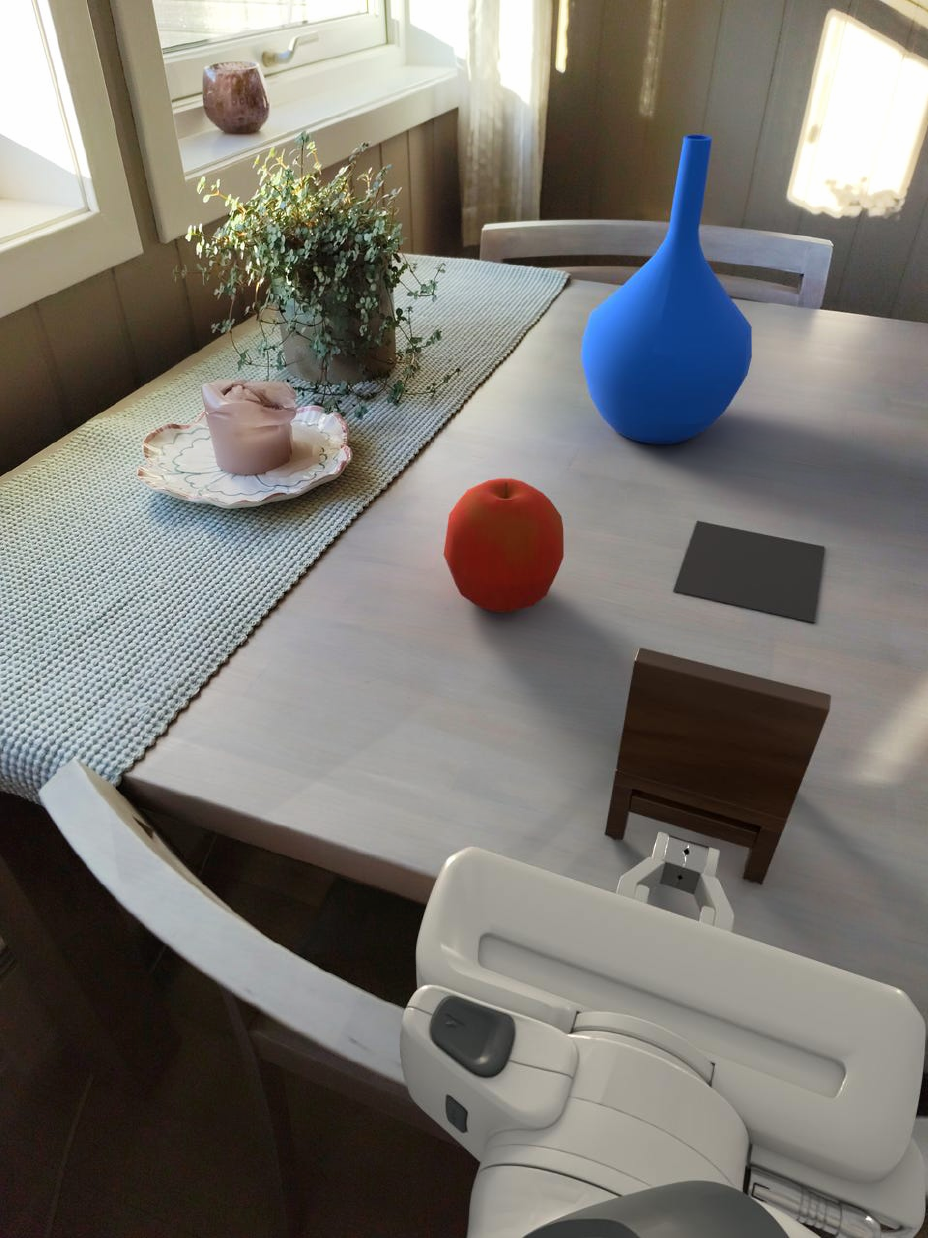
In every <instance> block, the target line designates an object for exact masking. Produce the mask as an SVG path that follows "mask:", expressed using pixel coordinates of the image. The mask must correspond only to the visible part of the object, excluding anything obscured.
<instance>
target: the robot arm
mask: <svg viewBox="0 0 928 1238" xmlns="http://www.w3.org/2000/svg"><path fill="white" fill-rule="evenodd" d="M720 854H721V850H720V849H717V848H714V847H710V846H708V845H704V844H701V843H698V842H694V841H691V840H686V839H683V838H680V837H678V836H677V837H676V836H675V835H672V834H669V833H665V832H662V831H658V833H657V836H656V840H655V844H654V847H653V851H652V854H651V856H648V857H646V858H645V859H643V860H642V861H640V862H639V863H638V864H637V865H635V866H634V867H632V868H631V869H630V870H628V871H627V872H625V873H624V874H622V875H621V876H620V877H619V881H618V883H617V888H616V891H615V892H612V891H609V890H606V889H604V888H600V887H597V886H596V885H595V886H594V885H591V884H588V883H586V882H582V881H580V880H577V879H574V878H570V877H567V876H564V875H561V874H559V873H556V872H552V871H549V870H547V869H544V868H541V867H538V866H535V865H531V864H528V863H526V862H523V861H520V860H516V859H514V858H511V857H508V856H506V855H501V854H499V853H496V852H493V851H490V850H487V849H485V848H482V847H479V846H475V845H474V846H473V845H472V846H467V847H465V848H462V849H461V850H458V851H456V852H455V853H453V854H451V855H449V856H448V857H446V859H445V860H444V863H443V865H442V867H441V869H440V871H439V874H438V876H437V878H436V880H435V883H434V884H433V888H432V890H431V892H430V896H429V899H428V901H427V904H426V908H425V910H424V914H423V918H422V920H421V923H420V927H419V931H418V936H417V940H416V947H415V948H416V949H415V965H416V966H415V970H416V971H415V972H416V976H415V977H416V991H414V993H413V994H412V996H411V997H410V999H409V1001H408V1003H407V1005H406V1007H405V1010H404V1012H403V1015H402V1020H401V1023H400V1032H399V1056H400V1064H401V1070H402V1074H403V1078H404V1082H405V1085H406V1088H407V1091H408V1094H409V1096H410V1097H411V1099H412V1100H413V1102H414V1103H415V1104H416V1105H417V1106H418V1107H419V1108H420V1109H421V1110H422V1112H424V1113H425V1114H426V1115H428V1116H429V1118H430V1119H432V1120H433V1121H434V1122H435V1123H436V1124H438V1125H439V1126H440V1127H441V1129H443V1130H444V1131H445V1132H447V1133H448V1134H449V1135H450V1136H451V1137H452V1138H453V1139H454V1140H455V1141H457V1143H459V1144H460V1145H461V1146H462V1147H463V1148H465V1149H466V1150H467V1152H468V1153H470V1155H472V1156H473V1158H475V1159H476V1160H477V1161H478V1162H479V1167H478V1170H477V1172H476V1175H475V1178H474V1182H473V1185H472V1188H471V1193H470V1201H469V1209H468V1210H469V1211H468V1224H467V1234H466V1238H822V1236H819V1235H818V1234H816V1233H815V1232H813V1231H812V1230H810V1229H809V1228H808V1227H806V1226H805V1225H803V1224H806V1225H808V1226H812V1227H814V1228H817V1229H819V1230H820V1229H821V1230H822V1231H824V1232H827V1233H829V1234H832V1235H833V1237H834V1238H914V1237H915V1236H916V1235H917V1234H918V1233H919V1231H920V1229H921V1228H922V1226H923V1224H924V1222H925V1216H926V1171H925V1170H926V1169H925V1162H924V1159H923V1156H922V1153H921V1151H920V1149H919V1146H918V1144H917V1142H916V1141H915V1139H914V1138H913V1136H912V1133H913V1130H914V1126H915V1122H916V1116H917V1111H918V1107H919V1102H920V1101H919V1100H920V1096H921V1095H920V1094H921V1088H922V1082H923V1073H924V1066H925V1065H924V1063H925V1052H926V1051H925V1050H926V1033H927V1032H926V1031H927V1030H926V1022H925V1019H924V1017H923V1015H922V1014H921V1013H920V1011H919V1010H918V1008H917V1007H916V1005H915V1003H914V1001H912V1000H911V998H910V996H909V995H908V994H907V993H906V992H905V991H903V990H902V989H901V988H898V987H896V986H893V985H890V984H887V983H884V982H882V981H878V980H875V979H872V978H869V977H866V976H863V975H860V974H857V973H854V972H851V971H848V970H845V969H842V968H840V967H836V966H833V965H830V964H827V963H825V962H821V961H818V960H815V959H812V958H810V957H806V956H804V955H800V954H797V953H794V952H791V951H788V950H785V949H783V948H779V947H776V946H774V945H770V944H767V943H765V942H761V941H758V940H755V939H752V938H750V937H746V936H744V935H740V934H737V933H734V932H733V927H734V922H735V913H734V910H733V909H732V906H731V904H730V901H729V900H728V897H727V895H726V893H725V891H724V889H723V887H722V885H721V882H720V880H719V878H718V877H716V874H717V869H718V865H719V864H718V863H719V859H720ZM660 885H663V886H667V887H671V888H673V889H677V890H678V891H679V890H680V891H682V892H686V893H688V894H691V895H693V896H694V901H695V903H696V905H697V909H698V912H699V916H698V919H697V920H696V919H693V918H689V917H687V916H685V915H681V914H678V913H676V912H672V911H670V910H666V909H663V908H660V907H657V906H654V905H651V904H648V899H649V895H650V894H651V892H653V891H654V890H655V889H656V888H657V887H658V886H660ZM881 1224H882V1225H885V1226H887V1227H889V1228H891V1229H882V1225H881Z"/></svg>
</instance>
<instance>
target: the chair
mask: <svg viewBox="0 0 928 1238" xmlns="http://www.w3.org/2000/svg"><path fill="white" fill-rule="evenodd" d="M831 702H832V695H831V694H829V693H826V692H821V691H817V690H813V689H810V688H806V687H802V686H798V685H793V684H789V683H786V682H781V681H777V680H773V679H769V678H766V677H761V676H756V675H753V674H749V673H744V672H741V671H736V670H734V669H729V668H724V667H721V666H716V665H714V664H709V663H705V662H701V661H696V660H692V659H688V658H685V657H681V656H676V655H673V654H668V653H664V652H660V651H657V650H653V649H648V648H645V647H641V646H640V647H638V649H637V652H636V655H635V657H634V659H633V666H632V672H631V678H630V683H629V689H628V695H627V702H626V706H625V707H626V708H625V713H624V720H623V725H622V730H621V737H620V742H619V748H618V753H617V760H616V766H615V771H614V775H613V782H612V789H611V793H610V794H611V795H610V800H609V807H608V813H607V818H606V825H605V831H604V836H605V837H609V838H611V839H613V840H619V841H624V838H625V834H626V830H627V827H628V822H629V817H630V813H632V814H635V815H638V816H641V817H645V818H648V819H651V820H654V821H658V822H661V823H665V824H667V825H671V826H674V827H677V828H681V829H684V830H687V831H690V832H694V833H697V834H700V835H703V836H707V837H711V838H714V839H715V840H716V839H717V840H720V841H722V842H726V843H730V844H734V845H736V846H739V847H743V848H746V849H749V851H748V854H747V857H746V860H745V863H744V867H743V873H742V880H745V881H748V882H750V883H753V884H758V885H763V884H764V882H765V879H766V876H767V874H768V870H769V868H770V866H771V863H772V860H773V859H774V857H775V853H776V851H777V847H778V845H779V843H780V840H781V837H782V834H783V832H784V830H785V827H786V824H787V822H788V819H789V816H790V814H791V812H792V808H793V806H794V804H795V801H796V798H797V796H798V794H799V791H800V788H801V785H802V783H803V781H804V777H805V775H806V773H807V770H808V767H809V765H810V762H811V759H812V757H813V754H814V752H815V749H816V747H817V744H818V742H819V740H820V736H821V734H822V731H823V729H824V726H825V723H826V721H827V718H828V715H829V713H830V710H831Z"/></svg>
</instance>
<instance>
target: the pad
mask: <svg viewBox="0 0 928 1238" xmlns="http://www.w3.org/2000/svg"><path fill="white" fill-rule="evenodd" d="M824 554H825V546H824V545H819V544H814V543H809V542H804V541H801V540H800V541H798V540H794V539H789V538H785V537H779V536H775V535H770V534H765V533H759V532H755V531H751V530H744V529H739V528H735V527H731V526H725V525H721V524H715V523H712V522H711V523H710V522H705V521H700V520H696V522H695V526H694V528H693V531H692V535H691V538H690V540H689V543H688V546H687V549H686V551H685V555H684V557H683V560H682V564H681V567H680V570H679V573H678V576H677V579H676V581H675V584H674V587H673V590H672V591H673V592H675V593H680V594H684V595H686V596H687V595H688V596H692V597H697V598H701V599H705V600H710V601H714V602H718V603H722V604H723V603H724V604H728V605H732V606H737V607H741V608H744V609H750V610H754V611H758V612H761V613H768V614H771V615H776V616H781V617H783V618H789V619H794V620H797V621H802V622H807V623H811V624H815V622H816V614H817V607H818V599H819V592H820V591H819V590H820V583H821V577H822V571H823V570H822V568H823V561H824Z"/></svg>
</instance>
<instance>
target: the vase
mask: <svg viewBox="0 0 928 1238" xmlns="http://www.w3.org/2000/svg"><path fill="white" fill-rule="evenodd" d="M712 142H713V137H712V136H710V135H706V134H685V135H684V136H683V141H682V145H681V153H680V158H679V165H678V169H677V174H676V175H677V176H676V181H675V187H674V194H673V200H672V205H671V212H670V221H669V227H668V231H667V233H666V235H665V238H664V240H663V242H662V243H661V245H660V246H659V248H658V249H657V251H656V252H655V253H654V255H653V256H651V257H650V258H649V260H648V261H647V262H645V264H644V265H642V266H641V267H640V269H638V270H637V271H636V272H635V273H634V274H633V275H632V276H631V277H630V278H629V279H628V280H627V281H626V282H625V283H623V285H621V286H620V287H619V288H618V289H617V290H615V292H614V293H612V294H611V295H610V296H609V297H607V298H606V299H605V300H604V301H602V303H600V304H599V305H598V306H597V307H596V308H595V309H593V310H592V311H591V312H590V315H589V318H588V320H587V324H586V327H585V330H584V333H583V336H582V340H581V352H580V360H581V364H582V368H583V372H584V376H585V380H586V385H587V388H588V393H589V397H590V398H591V400H592V402H593V404H594V406H595V407H596V409H597V411H598V413H599V415H600V416H601V417H602V418H603V419H604V420H605V421H606V423H607V424H608V425H609V426H610V427H611V428H612V429H613V430H614V431H615V432H616V433H618V434H620V435H621V436H623V437H625V438H627V439H630V440H632V441H636V442H641V443H644V444H651V445H652V444H653V445H672V444H678V443H682V442H685V441H687V440H690V439H691V438H693V437H695V436H697V435H698V434H700V433H702V432H703V431H704V430H706V429H708V428H709V427H711V426H712V425H713V424H714V422H716V421H717V419H719V418H720V417H721V416H722V415H723V414H724V413H725V412H726V410H727V409H728V408H729V406H730V405H731V403H732V401H733V399H734V398H735V396H736V395H737V393H738V392H739V390H740V388H741V386H742V385H743V383H744V381H745V380H746V378H747V377H748V373H749V370H750V366H751V362H752V358H753V340H752V339H753V338H752V337H753V335H752V334H753V333H752V332H753V331H752V325H751V324H750V322H749V321H748V319H747V318H746V317H745V315H744V314H743V313H742V312H741V310H740V309H739V307H738V306H737V304H736V303H735V302H734V301H733V299H732V297H730V295H729V294H728V293H727V291H726V289H725V288H724V286H723V284H722V283H721V282H720V280H719V278H718V277H717V275H716V274H715V272H714V270H713V269H712V267H711V266H710V264H709V263H708V262H709V261H707V259H706V258H705V255H704V252H703V249H702V245H701V242H700V241H701V240H700V232H699V231H700V225H701V218H702V211H703V207H704V206H703V205H704V199H705V193H706V185H707V178H708V170H709V164H710V156H711V148H712Z"/></svg>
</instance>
